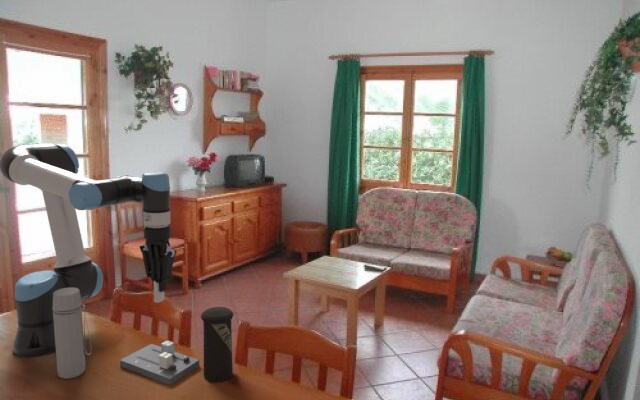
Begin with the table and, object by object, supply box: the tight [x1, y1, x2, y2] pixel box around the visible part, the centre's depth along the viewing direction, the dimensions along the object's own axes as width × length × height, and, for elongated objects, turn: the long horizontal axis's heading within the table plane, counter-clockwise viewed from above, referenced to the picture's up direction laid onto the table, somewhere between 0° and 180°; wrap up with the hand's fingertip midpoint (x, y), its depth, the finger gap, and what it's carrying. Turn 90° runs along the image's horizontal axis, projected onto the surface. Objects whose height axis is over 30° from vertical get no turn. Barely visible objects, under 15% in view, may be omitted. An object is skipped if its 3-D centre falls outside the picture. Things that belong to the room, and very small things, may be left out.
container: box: [200, 306, 234, 383], centre depth 138 cm, size 9×9×20 cm
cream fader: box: [159, 352, 173, 369], centre depth 139 cm, size 3×2×4 cm
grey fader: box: [160, 340, 175, 355], centre depth 146 cm, size 3×2×4 cm
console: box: [119, 343, 200, 386], centre depth 143 cm, size 20×12×3 cm, turn 62°
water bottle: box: [52, 287, 93, 380], centre depth 136 cm, size 9×8×25 cm
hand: (159, 300), depth 144 cm, fingers closed
